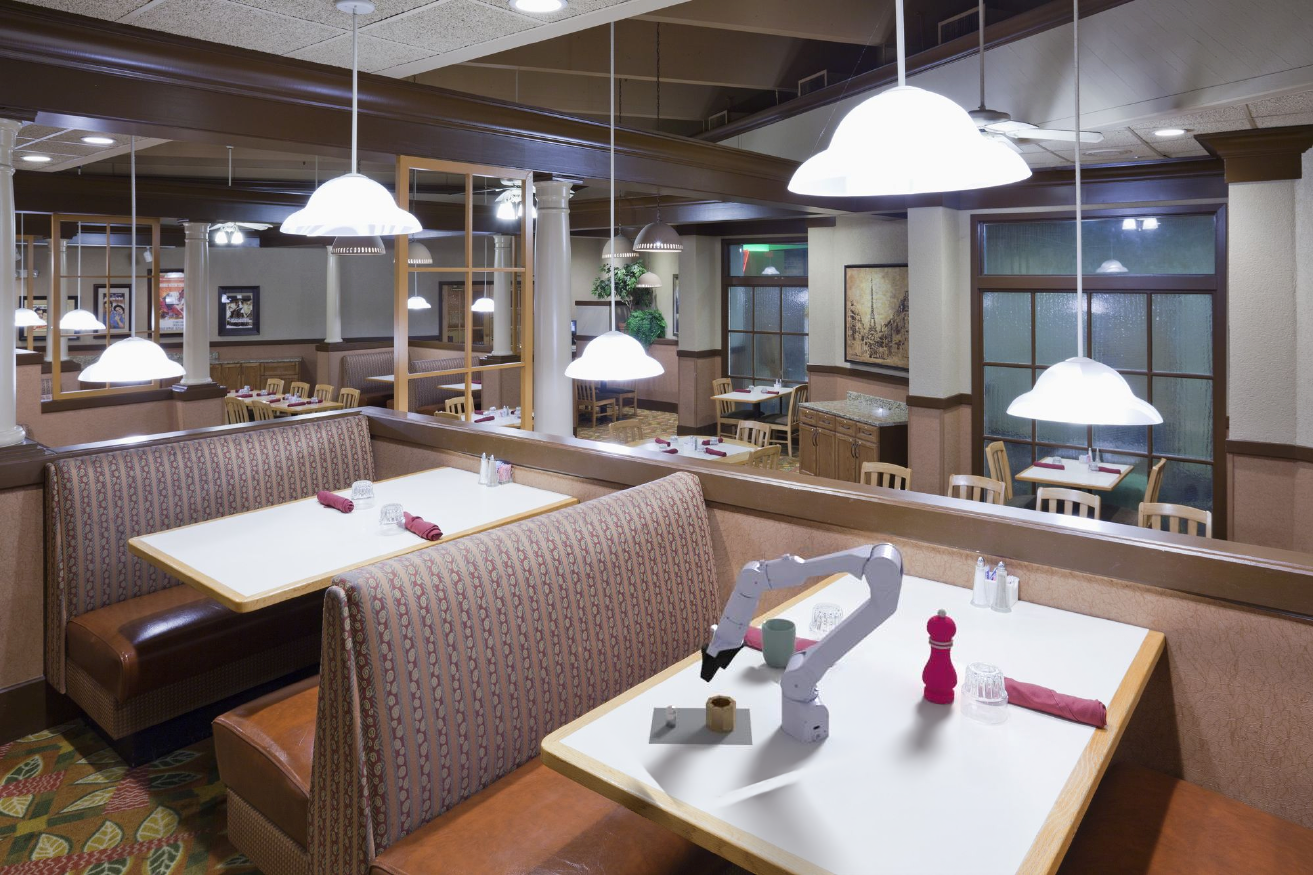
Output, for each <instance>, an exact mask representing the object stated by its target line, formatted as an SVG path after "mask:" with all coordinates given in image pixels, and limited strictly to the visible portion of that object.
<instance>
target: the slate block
mask: <svg viewBox="0 0 1313 875" xmlns="http://www.w3.org/2000/svg"><path fill="white" fill-rule="evenodd" d="M666 708H667V707H654V708H653V714H652V720H651V725H650V726H651V727H650V734H649V740H648V744H652V745H653V744H658V745H659V744H661V745H662V744H664V745H665V744H666V745H667V744H668V745H675V744H676V745H731V746H732V745H740V746H741V745H742V746H743V745H748V746H750V745H751V746H753V734H752V721H751V709H750V708H736V726H735V728H734V730H733V731H729V732H726V733H718V732H712V731H711V730H710V729H709V728H708V727H706V707H699V708H698V707H675V708H676V711H677V726H676V727H674V728H669V727H667V726H666Z"/></svg>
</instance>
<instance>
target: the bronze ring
mask: <svg viewBox="0 0 1313 875" xmlns="http://www.w3.org/2000/svg"><path fill="white" fill-rule="evenodd" d="M705 708H706V727H708V728H709V729H710V730H711V731H712V732H718V733H726V732H729V731H733V730H734V728H735V726H736V709H737V701H736V700H735V699H734V698H732V697H731V696H727V695H720V694H717V695H715V696H711V697H708V699H707V700H706V702H705Z"/></svg>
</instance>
